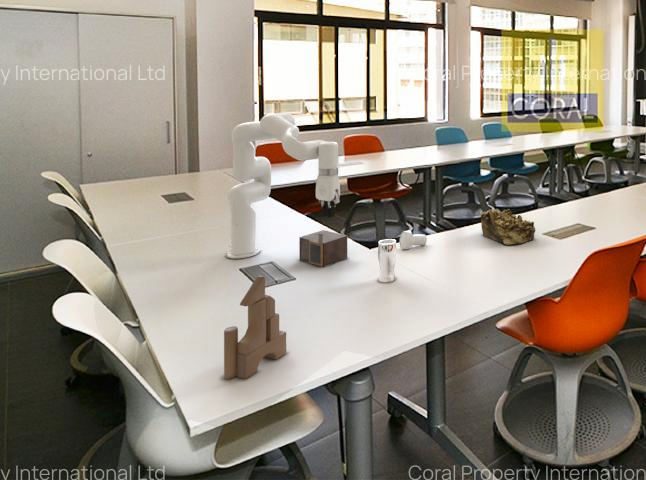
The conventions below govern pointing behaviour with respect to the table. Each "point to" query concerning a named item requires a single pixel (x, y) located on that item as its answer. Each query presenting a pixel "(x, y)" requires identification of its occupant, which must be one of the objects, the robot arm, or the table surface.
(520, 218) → the mineral
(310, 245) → the sliding door
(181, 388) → the table surface
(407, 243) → the spotlight
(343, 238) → the cabinet
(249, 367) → the wooden toy
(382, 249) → the beer glass
